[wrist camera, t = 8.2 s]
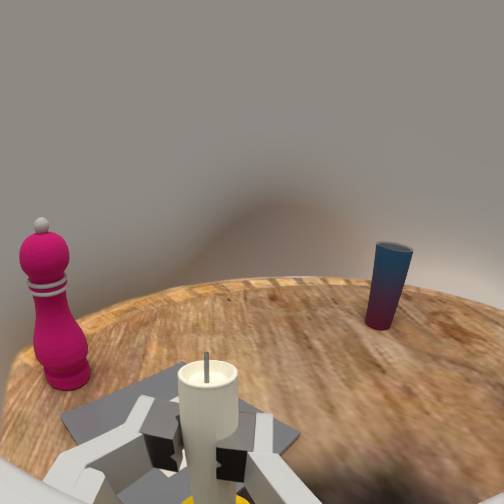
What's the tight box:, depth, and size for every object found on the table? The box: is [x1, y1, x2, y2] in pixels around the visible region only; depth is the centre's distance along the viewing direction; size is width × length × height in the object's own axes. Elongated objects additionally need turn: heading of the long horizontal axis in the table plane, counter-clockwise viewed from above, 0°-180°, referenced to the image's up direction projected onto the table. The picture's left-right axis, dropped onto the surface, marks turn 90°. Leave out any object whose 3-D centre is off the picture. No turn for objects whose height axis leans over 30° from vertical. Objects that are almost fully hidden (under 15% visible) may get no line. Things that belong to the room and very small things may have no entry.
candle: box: [178, 352, 250, 504], centre depth 9 cm, size 5×5×16 cm
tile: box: [59, 361, 301, 504], centre depth 25 cm, size 18×18×1 cm
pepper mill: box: [19, 218, 90, 390], centre depth 28 cm, size 7×7×20 cm
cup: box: [365, 241, 413, 330], centre depth 50 cm, size 7×7×15 cm
